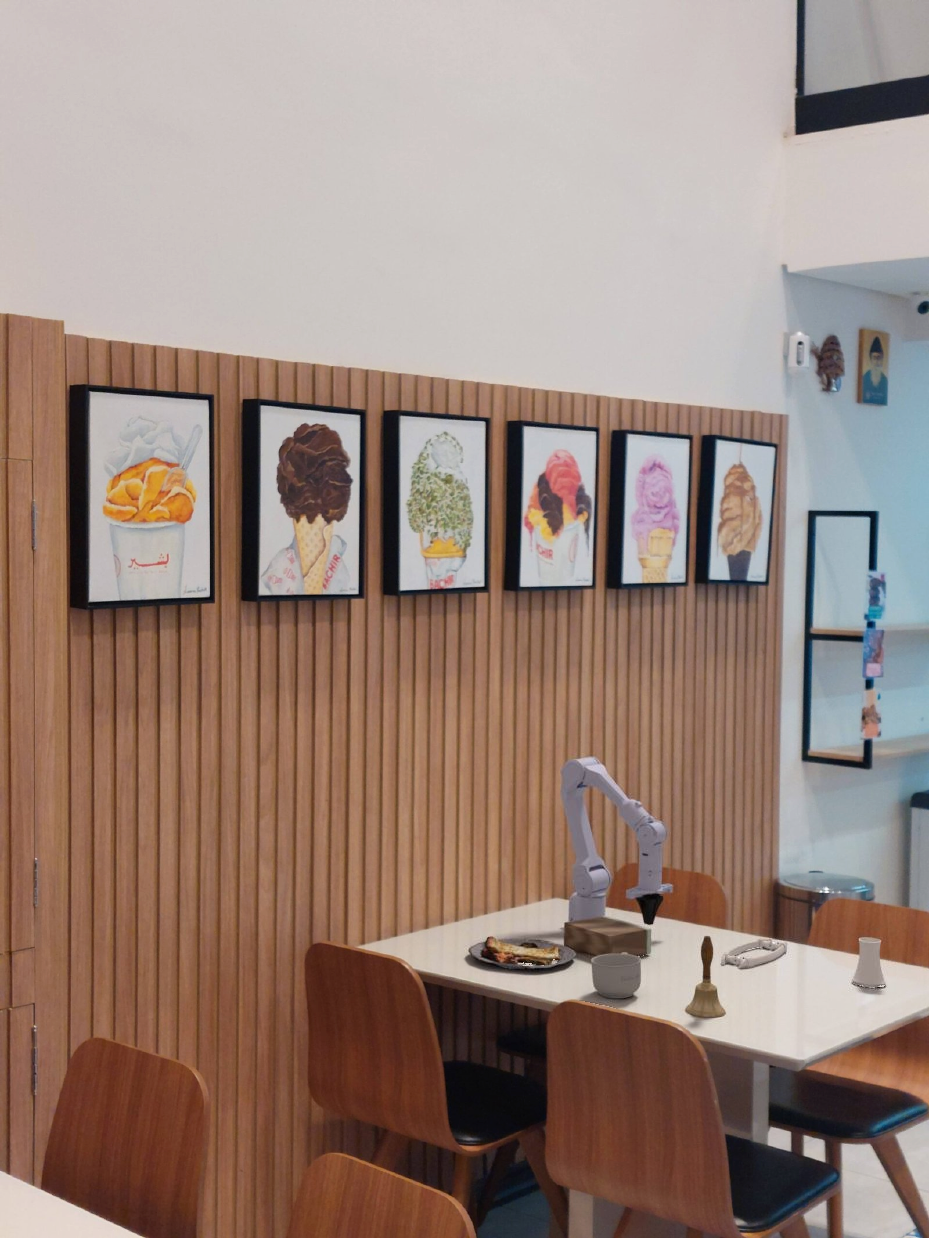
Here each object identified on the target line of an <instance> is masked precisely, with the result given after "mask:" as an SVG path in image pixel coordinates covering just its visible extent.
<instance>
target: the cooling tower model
mask: <svg viewBox="0 0 929 1238" xmlns="http://www.w3.org/2000/svg"><path fill="white" fill-rule="evenodd" d="M858 943H859V956H858V962H857V966H856V969H855V972H854V975H853V976H851V981H853V982H851V984H852V983H853V985H854V984H855V985H854V986H857V985H859V986H858V987H860V985H861V986H862V985H863V986H862V987H861V988H865V987H869V988H868V989H873V988H872V987H878V986H880V985H881V986H882V985H885V983H886V984H887V980H886V979H885V977H884V974H883V971H882V966H881V958H880V957H881V956H880V955H881V954H880V953H881V943H882V940H881V939H880V938H879V939H878V938H877V937H876V938H875V937H864V936H863V937H860V938H858ZM870 987H871V988H870Z"/></svg>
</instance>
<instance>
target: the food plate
mask: <svg viewBox="0 0 929 1238" xmlns="http://www.w3.org/2000/svg"><path fill="white" fill-rule="evenodd" d="M468 953H469V954H470V956H471V957H473V958H474V959H476V960H478V961H481V960H482V961H483V963H491V964H495V965H497V966H498V967H499V968H503V969H508V970H518V969H520V970H525V968H527V969H526V970H532V969H535V968H536V969H537V968H539V970H540V969H549V968H552V967H555V966H557V965H563V964H566V963H568V962H570V961H572V960H573V959H575V957H576V956H577V953H576V952H574V951H573V950H572V949H570V948H568V947H566V946H564V944H558V943H554V942H552V941H551V942H550V941H548V940H545V941H544V940H543V939H528V938H527V939H525V938H523V939H522V938H521V939H519V938H504V939H503V938H501V939H497V937H495V936H490V935H489V936H488V937H486V940H485V941H480V942H477V943H476V944H474V945H472V946H469V948H468ZM553 959H555V960H558V961H556V962H557V963H556V962H555V963H553ZM523 962H524V964H518V963H523ZM525 963H532V964H536V965H534V966H523V965H526V964H525ZM551 963H552V964H551ZM529 965H530V964H529ZM539 965H544V966H539Z"/></svg>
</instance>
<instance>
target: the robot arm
mask: <svg viewBox="0 0 929 1238" xmlns="http://www.w3.org/2000/svg"><path fill="white" fill-rule="evenodd" d="M560 775H561V785H560V798H561V801H562V806H563V810H564V813H565V818H566V822H567V826H568V830H569V834H570V837H571V839H570V840H571V842H572V846H573V850H574V855H575V862H574V864H573V866H572V868H571V869H572V874H573V875H572V876H573V877H572V887H573V888H574V889H573V890H574V891H575V892H573V893H572V894H571V896H570V898H569V899H568V921H567V922H570V921H576V920H582V919H587V918H593V917H599V916H601V917H602V916H606V900H607V899H606V898H607V896H606V894H607V889H609V888H610V886H611V885H612V875H611V873H610V870H608V868H607V866H606V864H605V861H604V859H602V858H601V857H600V856H599V855H598V853H597V849H596V844H595V841H594V837H593V836H594V835H593V833H592V829H591V825H590V820H589V815H588V813H587V807H586V804H585V800H584V794H585V793H586V791H587V789H588V787H595V788H597V789H599V791H600V792H602V793H603V795H605V796H606V797H607V799H609V800H610V801H611V802H612V803H613V804H614V805H615V807H617V808H618V815H619V817H620V818H621V819H622V820H623V822H625V823H626V824H627V826H628V827H629V828H630V830H632V831H633V832H634V834H635V835H634V836H635V839H636V842H637V843H638V850H639V854H638V855H639V861H638V884H637V886H635V887H632V888H629V889H626V890H625V898H626V899H629V900H633V899H635V900H636V902H637V904H638V906H639V908H640V912H641V915H642V920H643V925H648V926H652V925H653V924H654V922H655V919H656V916H657V913H658V910H659V908H660V906H661V904H662V903H663V901H664V896H663V895H660V894H666V893H669V894H671V893H672V894H673V892H674V885H673V884H670V883H662V880H663V878H662V877H663V875H662V874H663V873H662V872H663V854H664V853H663V851H664V850H663V848H664V847H663V846H664V842H665V841H666V840H667V837H668V829H667V826H666V825H665V823H664V822H663V821H661V820H658V819H657V820H656V819H655V818H654V816H653V815H650V813H648V811H646V809H645V808H644V807H643V806H642V805H643V803H642V802H641V801H639V800H638V801H637V800H636V799H632V798H630V799H629V798H628V796H627V795H626V794H625V793H624V791H623V790H622V789H621V788H620V787H619V786H618V784H617V783H616V781H614V779H613V778H612V777H611V776H610V774H609V773H608V772H607V769H606V766H605V765H603V763H601V762H600V760H599V759H598V758H597V757H594V756H587V757H582V758H581V757H580V758H577V759H575V758H574V759H573V758H572V759H569V760H567V761H566V762H565V763H564V765H563V766H562V767H561V770H560Z"/></svg>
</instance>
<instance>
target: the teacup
mask: <svg viewBox="0 0 929 1238" xmlns="http://www.w3.org/2000/svg"><path fill="white" fill-rule="evenodd" d="M590 963H591V975H592V978H591V979H592V983H593V987H594V989H595V990H596V991H597V992H598V993H599V994H600V995H601V996H603V997H604V996H605V997H604V998H610V999H626V998H630V997H632V996H633V995H634V993H636V992H637V991H638V990H639V989H640V987H641V981H642V968H641V967H642V966H641V965H642V957H637V956H634V955H630V954H628V953H626V952H622V953H621V954H604V955H599V956H596V957H593V958H591V959H590Z"/></svg>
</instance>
